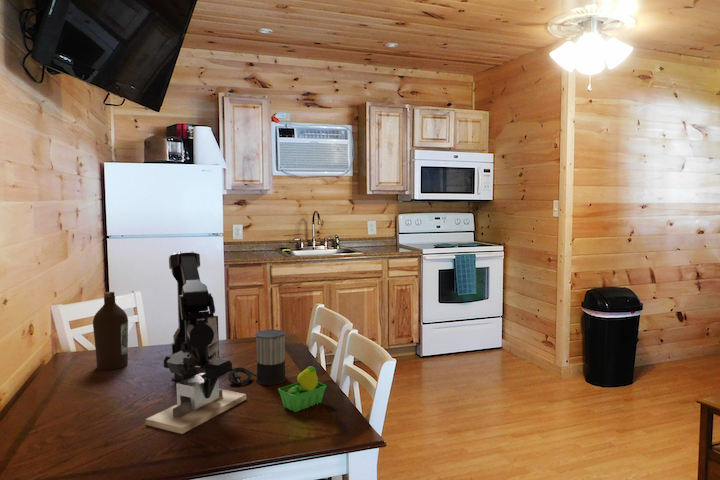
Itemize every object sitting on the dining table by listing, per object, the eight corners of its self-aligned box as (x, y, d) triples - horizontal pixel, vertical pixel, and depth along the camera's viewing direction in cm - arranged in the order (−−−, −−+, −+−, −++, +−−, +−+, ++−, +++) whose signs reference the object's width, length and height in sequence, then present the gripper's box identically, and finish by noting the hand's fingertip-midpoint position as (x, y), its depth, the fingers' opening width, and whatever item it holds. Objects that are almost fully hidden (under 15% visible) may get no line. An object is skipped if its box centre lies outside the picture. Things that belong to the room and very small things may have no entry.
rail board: (212, 392, 151) (212, 380, 151) (246, 399, 146) (246, 387, 145) (145, 424, 129) (145, 411, 129) (182, 434, 124) (181, 419, 124)
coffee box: (220, 361, 180) (219, 315, 179) (209, 367, 174) (207, 319, 173) (198, 359, 183) (196, 313, 182) (186, 365, 177) (184, 317, 176)
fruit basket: (310, 395, 148) (309, 356, 147) (330, 404, 142) (330, 363, 141) (277, 407, 140) (276, 365, 139) (297, 416, 134) (296, 373, 133)
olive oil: (91, 372, 170) (87, 296, 168) (99, 362, 181) (96, 290, 179) (126, 369, 172) (122, 294, 171) (132, 360, 183) (129, 289, 181)
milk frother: (292, 380, 161) (291, 332, 160) (249, 394, 150) (248, 343, 149) (265, 370, 171) (264, 325, 170) (222, 382, 160) (221, 334, 159)
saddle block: (201, 394, 143) (201, 372, 142) (219, 397, 140) (218, 375, 140) (177, 405, 135) (176, 383, 134) (194, 410, 132) (194, 386, 132)
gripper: (145, 341, 133) (148, 400, 134) (202, 350, 125) (204, 413, 126) (178, 331, 143) (180, 386, 144) (232, 338, 135) (234, 397, 136)
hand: (198, 396), depth 137 cm, fingers closed on saddle block, 6 cm apart
